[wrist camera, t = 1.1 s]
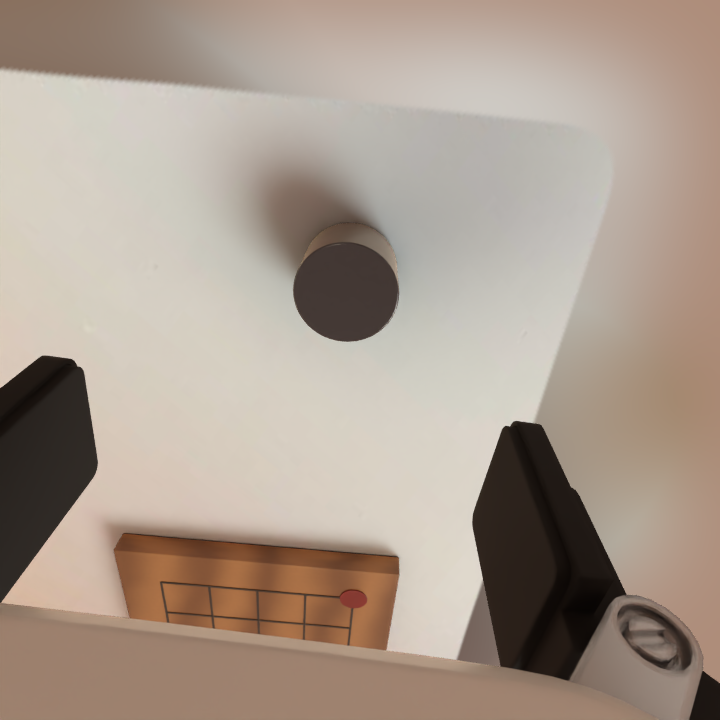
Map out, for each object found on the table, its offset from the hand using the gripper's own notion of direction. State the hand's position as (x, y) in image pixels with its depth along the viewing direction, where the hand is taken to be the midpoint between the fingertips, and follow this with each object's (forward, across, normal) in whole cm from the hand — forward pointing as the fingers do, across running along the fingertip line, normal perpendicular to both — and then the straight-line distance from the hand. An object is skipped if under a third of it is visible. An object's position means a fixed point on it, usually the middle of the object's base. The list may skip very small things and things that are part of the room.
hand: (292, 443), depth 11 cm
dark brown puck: (+16, 0, +1) cm, 16 cm away
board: (+16, +3, +33) cm, 36 cm away
